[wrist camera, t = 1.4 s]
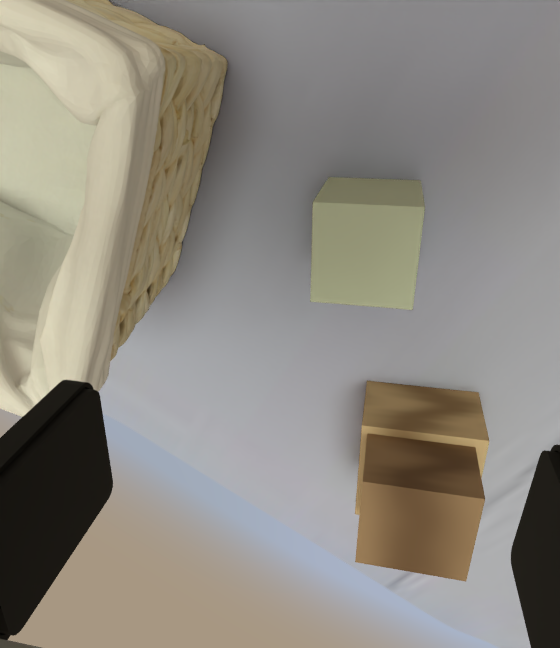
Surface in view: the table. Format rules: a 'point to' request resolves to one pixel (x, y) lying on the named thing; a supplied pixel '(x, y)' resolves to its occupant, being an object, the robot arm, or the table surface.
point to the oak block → (422, 419)
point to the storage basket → (91, 181)
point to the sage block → (366, 242)
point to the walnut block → (419, 506)
